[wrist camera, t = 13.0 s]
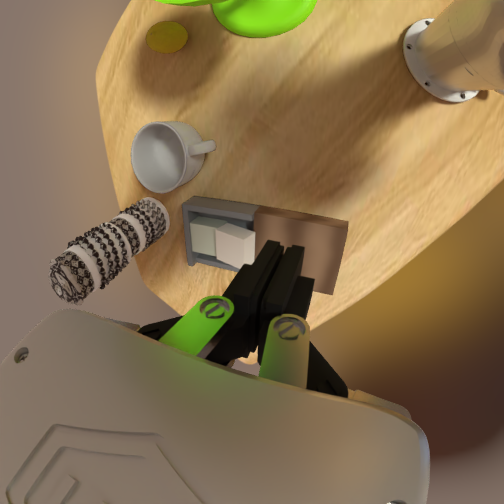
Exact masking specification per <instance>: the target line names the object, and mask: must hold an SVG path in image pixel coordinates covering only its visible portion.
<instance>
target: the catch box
mask: <svg viewBox="0 0 504 504" xmlns="http://www.w3.org/2000/svg"><path fill="white" fill-rule="evenodd" d="M259 206H260V205H254V204H248V203H241V202H235V201H228V200H221V199H214V198H207V197H199V196H193V197H192V198H190V199H189V200H187V201H186V202H184V203H183V204H182V211H183V222H184V233H185V243H186V252H187V261H188V265H189V266H194V264H195V263H196V262H198V263H202V264H206V265H210V266H214V267H219V268H223V269H227V270H231V271H235V272H239V270H240V269H239V268H236V267H234V266H232V265H229V264H227V263H225V262H223V261H220V260H218V259H217V257H216V256H212V255H207V254H203V253H198V252H194V251H192V241H191V230H190V223H191V222H192V221H193V220H194V219H195V218H197V217H198V216H201V217H207V218H213V219H219V220H225V221H227V223H230V224H233V225H236V226H238V227H241V228H244V229H247V230H250V231H254V212H255V211H256V210H257V209H258V208H259ZM251 265H252V264H251Z"/></svg>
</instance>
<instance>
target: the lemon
mask: <svg viewBox="0 0 504 504" xmlns="http://www.w3.org/2000/svg"><path fill="white" fill-rule="evenodd" d="M187 39H188V34H187V31H186V29H185V28H184V27H183V26H182V25H181V24H179V23H176V22H173V21H163V22H159V23H157V24H155V25H153V26H152V27H151V28H150V29H149V31H148V32H147V35H146V42H147V45H148V46H149V47H150V48H151V49H152V50H154V51H156V52H159V53H164V54H167V53H174V52H177V51H178V50H180V49H181V48H182V47H184V45H185V44H186V42H187Z"/></svg>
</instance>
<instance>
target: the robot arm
mask: <svg viewBox="0 0 504 504" xmlns="http://www.w3.org/2000/svg"><path fill="white" fill-rule="evenodd" d="M425 23H426V24H428V26H427V25H426V24H425ZM407 46H408V47H410V49H408V48H407ZM403 54H404V58H405V62H406V65H407V67H408V69H409V71H410V73H411V74H412V76H413V77H414V79H415V80H416V81H417V82H418V83H419V84H420V86H421V87H423V88H424V89H425V90H426V91H427V92H429V93H430V94H432V95H433V96H435V97H437V98H439V99H441V100H444V101H448V102H464V101H468V100H470V99H472V98H473V97H475V96H476V95H477V94H478V93H479V91H480V90H495V91H496V92H498V93H500V94H502V95H504V0H454V1H453V2H452V3H451V4H450V5H449V6H448V7H447V8H446V9H445V10H444V11H443V12H442V13H441V14H440V15H439V16H437V17H436V18H427V19H422V20H419V21H417V22H415V23H414V24H413V25H411V27H410V28H409V29H408V30H407V32H406V34H405V37H404V40H403ZM425 82H426V83H427V84H428V85H427V86H426V85H425ZM460 94H461V95H462V98H461V97H460ZM304 252H305V247H303V246H298V245H292V247H287V248H286V251H285V253H284V246H282V245H280V242H278V241H273V240H267V242H266V243H265V245H264V246H263V248H262V250H261V251H260V253H259V254H258V256H257V258H256V259H255V261H254V262H253V264H252V265H250V264H244V265H243V266H242V267H241V269H240V270H239V272H238V273H237V274H236V276H235V277H234V279H233V280H232V282H231V283H230V285H229V286H228V288H227V289H226V291H225V292H224V294H223V295H222V296H208V297H205V298H203V299H202V300H200V301H199V302H198V303H197V304H196V305H195V306H194V307H193V308H192V309H191V310H190V311H188V312H187V313H186V314H185V315H184V316H180V317H176V318H172V319H168V320H164V321H160V322H157V323H152V324H148V325H146V326H143V327H142V328H140V325H138V324H133V323H128V322H122V321H118V320H113V319H108V318H103V317H101V316H99V315H96V314H93V313H89V312H86V311H81V310H75V309H63V310H58V311H55V312H53V313H51V314H50V315H49V316H47V317H46V318H45V319H43V320H42V321H41V322H40V323H39V324H38V325H36V327H34V328H33V329H32V330H31V331H30V332H29V333H28V334H27V335H26V336H25V337H24V338H23V339H22V340H21V341H20V342H19V343H18V344H17V345H16V347H15V348H14V349H13V350H12V351H11V352H10V353H9V354H8V355H7V357H6V358H5V359H4V360H3V361H2V363H1V364H0V504H426V500H427V494H428V486H429V476H430V453H429V446H428V441H427V438H426V436H425V434H424V432H423V431H422V429H421V428H420V427H419V426H418V425H417V424H415V423H414V422H413V421H411V417H410V414H409V412H408V411H407V410H406V409H405V408H404V407H402V406H400V405H397V404H394V403H391V402H389V401H386V400H383V399H380V398H378V397H375V396H372V395H370V394H367V393H365V392H362V391H360V390H356V392H354V391H352V390H350V389H348V388H347V386H346V384H345V383H344V381H343V380H342V379H341V378H340V377H339V375H338V374H337V373H336V372H335V371H334V369H333V368H332V367H331V366H330V365H329V363H328V362H327V361H326V360H325V359H324V357H323V356H322V355H321V354H320V353H319V352H318V350H317V349H316V348H315V347H314V345H313V344H312V343H311V342H310V327H309V325H308V323H307V321H305V320H306V317H307V313H308V309H309V305H310V301H311V297H312V292H313V288H314V283H315V279H314V278H309V277H304V276H301V271H302V265H303V258H304ZM257 346H258V360H257V361H258V363H259V365H260V366H261V367H260V371H259V376H255V375H252V374H248V373H245V372H242V371H238V370H235V369H232V366H233V365H234V363H235V359H237V358H240V357H244V358H248V356H249V353H250V352H253V353H254V352H255V350H256V348H257ZM389 502H390V503H389Z"/></svg>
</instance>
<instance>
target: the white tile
mask: <svg viewBox="0 0 504 504" xmlns="http://www.w3.org/2000/svg"><path fill="white" fill-rule="evenodd" d="M215 231H216V254H217V259H218V260H220V261H223V262H225V263H227V264H229V265H232V266H234V267H236V268H239V269H241V267H242V266H243V265H244V264H250V265H251V264H252V263H253V262H254V256H255V232H253V231H250V230H247V229H244V228H241V227H238V226H236V225H233V224H230V223H226V224H224V225H223V226H221V227H219V228H217V229H215Z"/></svg>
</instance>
